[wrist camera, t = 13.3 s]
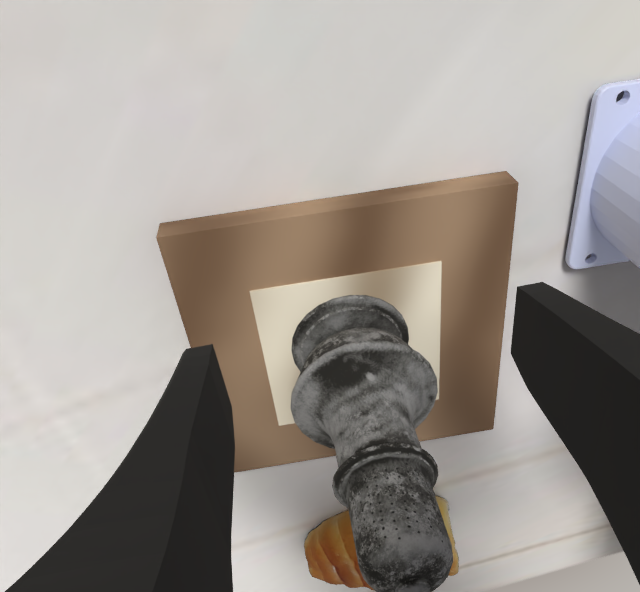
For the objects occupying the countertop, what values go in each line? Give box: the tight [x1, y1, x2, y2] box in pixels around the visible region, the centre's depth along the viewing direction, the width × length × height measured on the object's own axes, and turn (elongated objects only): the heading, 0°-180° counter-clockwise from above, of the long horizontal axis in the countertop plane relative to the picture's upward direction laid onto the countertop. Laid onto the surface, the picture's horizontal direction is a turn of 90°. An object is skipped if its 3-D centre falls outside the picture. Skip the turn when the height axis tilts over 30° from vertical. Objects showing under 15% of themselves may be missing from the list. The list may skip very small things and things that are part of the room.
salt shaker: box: [291, 295, 453, 592], centre depth 20 cm, size 6×6×12 cm
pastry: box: [304, 496, 459, 590], centre depth 34 cm, size 9×7×4 cm
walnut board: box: [156, 171, 518, 472], centre depth 26 cm, size 14×14×1 cm
